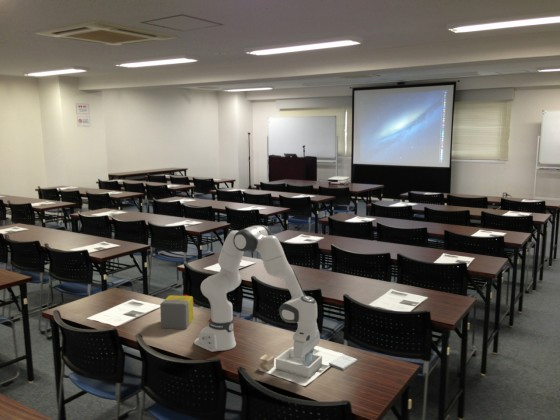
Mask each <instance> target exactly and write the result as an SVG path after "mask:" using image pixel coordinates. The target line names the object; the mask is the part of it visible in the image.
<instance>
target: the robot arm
mask: <svg viewBox="0 0 560 420" xmlns="http://www.w3.org/2000/svg"><path fill="white" fill-rule="evenodd" d="M255 251H257V252H258V253H259V254H260V257H261V260H262V263H263V267H264V269H265V271H266V273H267V274H268V275H269V276H271V277H274V278H279V279H281V280H283V281H284V283H285V284H286V286H287V287H286V288H287V289H288V291H289V293H290V295H291V299H289V300H287V301H285V302H283V303H282V304H281V305H280V307H279V309H278V310H279V311H278V312H279V316H280V318H281V319H282V321H284V322H285V323H290V324H292V323H293V324H297V329H296V331H295V332H294V333H293V335H292V340H293V347H292V349H293V352H294V356H295V357H296V358H300V359H301V363H305V362H306V359H305V355H306V354H307V353H308V352H309V351H310V352H311V353H312V356H313V354H314V350H315V347H317V346H318V345H319V344H320V340H321V339H320V331H319V327H318V323H317V319H318V303H317V301H316V299H315V298H314V297H312V296H309V295H306V293H305V292H304V290H303V287H302V285H301V283H300V280H299V279H298V277H297V274H296V272H295V270H294V269H293V266H291V265H290V263H289V261H288V260H287V257H286V254H285V251H284V248H283V246H282V244H281V242H280V241H279V239H278V237H277V236H275V235H272V232H271V230H270V228H269V227H267V226H266V225H263V224H258V225H251V226H248V227H246V228H243V229H240V230H231V231H230V232H229V233H228V234H227V236H226V238H225V240H224V242H223V245H222V246H221V250H220V253H219V256H218V260H217V262H218V265H219V267H220V270H219V271H218V272H217V273H215V274H212V275H210V276H207V278H205V279H204V280H202V282H201V284H200V291H201V293H202V295H203V296H204V298H206V299H207V300H208V302H209V304H210V305H209V306H210V314H211V316H210V317H211V318H209V319H208V320H207V322H206V323H208V324H207V325H206V326H205V327H204V328H202V329H201V330H200V332H199V334H198V338H196V339H195V340H194V342H193V343H194V344H193V345H195V346H198V347H200V348H202V349H205V350H206V351H210V352H219V351H221V352H222V351H228V350H231V349H234V348H235V347H236V346H237V343H236V338H235V334H234V324H235V323H234V317H233V316H234V314H233V308H234V307H233V303H232V302H231V301H229V300H228V297H227V294H228V293H229V292H232V291H234V290H236V289H237V288H238V287H239V286H240V285H241V283H242V276H241V274H240V272H239V271H240V270H239V269H240V265H241V262H242V259H243V256H244V253H245V252H246V253H248V252H250V253H253V252H255Z"/></svg>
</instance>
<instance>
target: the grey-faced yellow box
mask: <svg viewBox="0 0 560 420" xmlns="http://www.w3.org/2000/svg"><path fill="white" fill-rule="evenodd" d="M194 305H195V302H194V297H193V296H192V295H191V296H190V295H188V294H183V295H173V294H171V295H170V294H169V295H168V296H167V297H166V298H165V299H164V300H163V301H162V302H161V303H160V306H159V307H160V308H159V309H160V310H159V311H160V327H161V329H170V330H171V329H173V330H186V329H187V328H188V327H189V325H190V324H191V323H192V322H193V320H194Z"/></svg>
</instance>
